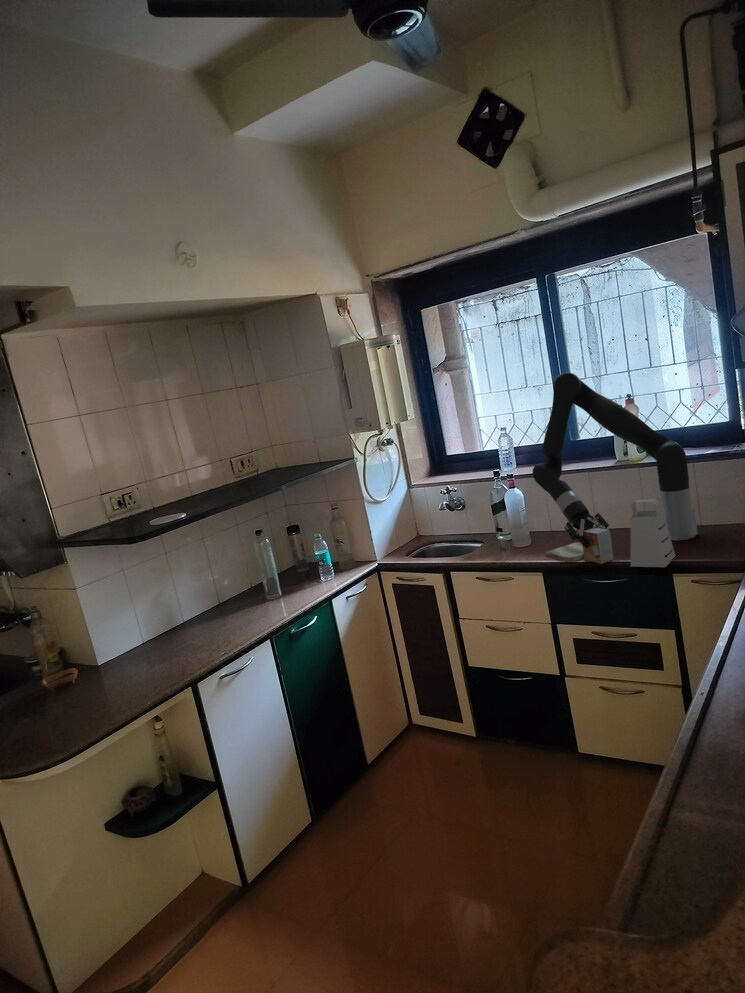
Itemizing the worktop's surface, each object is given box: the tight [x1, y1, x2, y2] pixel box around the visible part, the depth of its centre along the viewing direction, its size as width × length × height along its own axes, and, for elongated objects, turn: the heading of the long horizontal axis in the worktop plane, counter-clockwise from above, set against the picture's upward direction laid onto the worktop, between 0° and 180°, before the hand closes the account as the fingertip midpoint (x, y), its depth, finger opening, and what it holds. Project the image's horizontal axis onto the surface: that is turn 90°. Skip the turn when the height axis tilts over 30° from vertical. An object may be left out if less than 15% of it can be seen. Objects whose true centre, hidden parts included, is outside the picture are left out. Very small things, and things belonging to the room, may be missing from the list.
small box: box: [583, 526, 614, 565], centre depth 222 cm, size 8×6×10 cm
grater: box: [630, 498, 676, 568], centre depth 209 cm, size 10×10×20 cm
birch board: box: [545, 541, 584, 563], centre depth 235 cm, size 14×14×2 cm
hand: (598, 543), depth 221 cm, fingers open, 8 cm apart
